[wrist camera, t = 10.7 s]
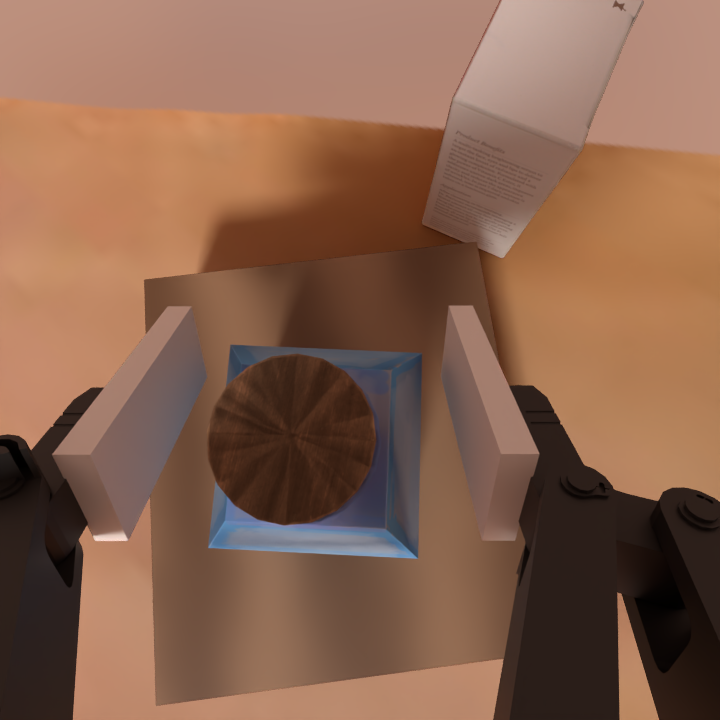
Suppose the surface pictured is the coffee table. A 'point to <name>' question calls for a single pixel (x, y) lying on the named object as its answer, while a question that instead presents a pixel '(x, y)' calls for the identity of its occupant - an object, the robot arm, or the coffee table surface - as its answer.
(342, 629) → the walnut riser block
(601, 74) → the small box
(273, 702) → the coffee table surface
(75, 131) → the coffee table surface
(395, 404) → the perfume bottle
